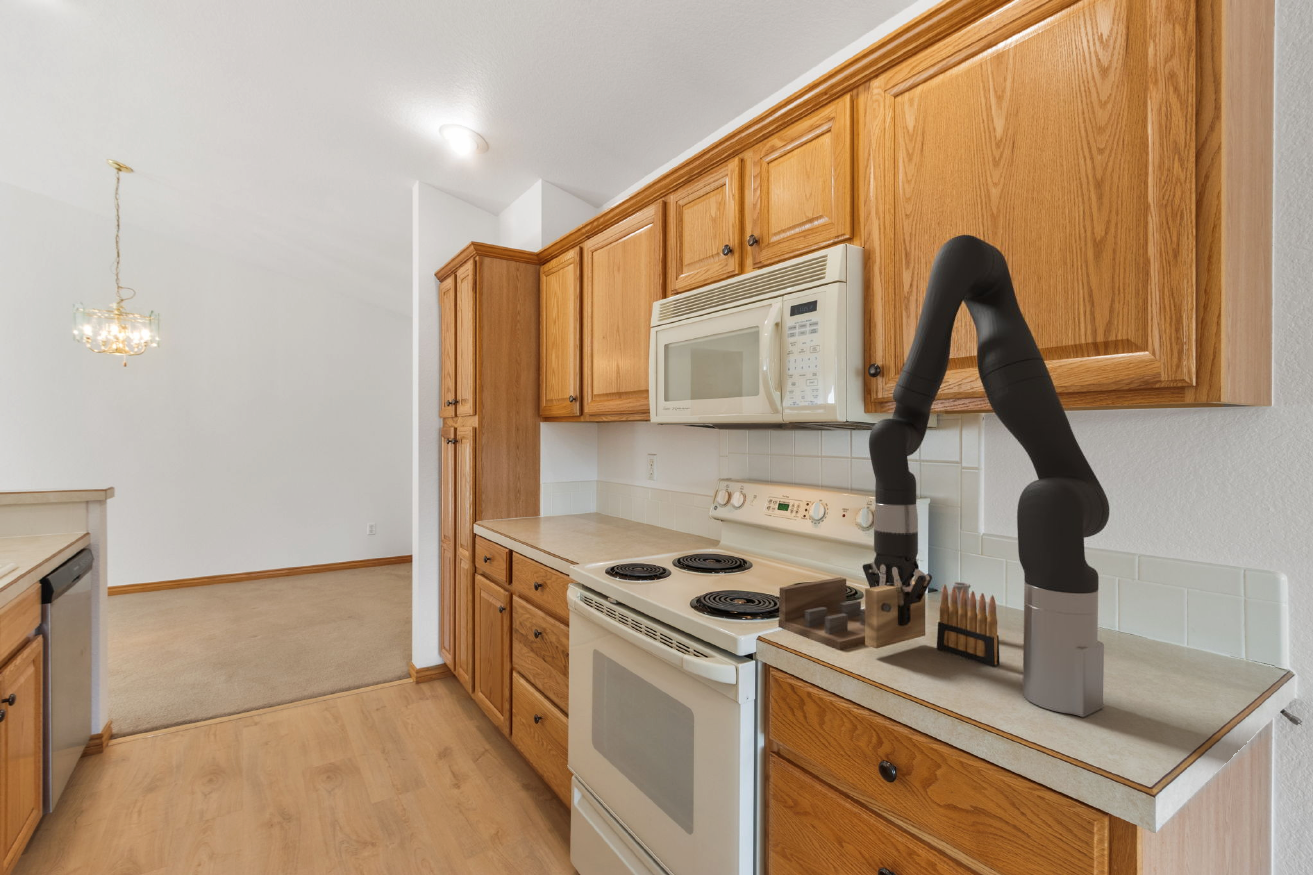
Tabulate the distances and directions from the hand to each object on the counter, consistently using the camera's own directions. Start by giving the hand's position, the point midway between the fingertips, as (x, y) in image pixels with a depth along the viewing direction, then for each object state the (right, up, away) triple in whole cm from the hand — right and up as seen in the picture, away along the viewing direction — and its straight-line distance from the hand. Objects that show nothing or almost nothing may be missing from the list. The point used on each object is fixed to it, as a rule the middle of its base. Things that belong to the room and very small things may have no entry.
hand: (895, 622), depth 114 cm
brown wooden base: (-7, -5, +12) cm, 14 cm away
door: (0, -3, 0) cm, 3 cm away
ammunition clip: (+12, -5, -3) cm, 13 cm away
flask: (+17, -5, +10) cm, 20 cm away
